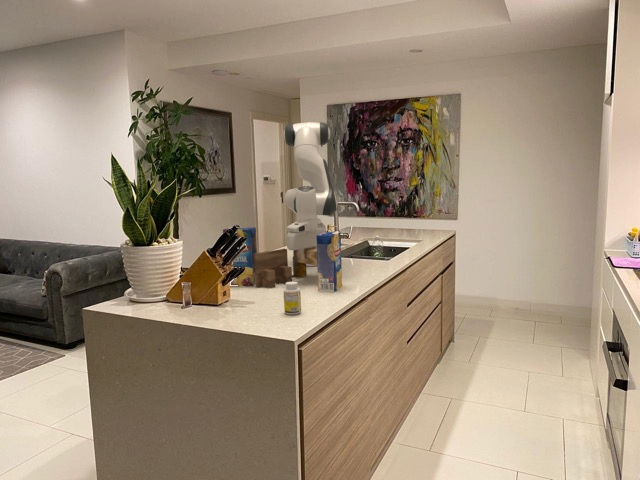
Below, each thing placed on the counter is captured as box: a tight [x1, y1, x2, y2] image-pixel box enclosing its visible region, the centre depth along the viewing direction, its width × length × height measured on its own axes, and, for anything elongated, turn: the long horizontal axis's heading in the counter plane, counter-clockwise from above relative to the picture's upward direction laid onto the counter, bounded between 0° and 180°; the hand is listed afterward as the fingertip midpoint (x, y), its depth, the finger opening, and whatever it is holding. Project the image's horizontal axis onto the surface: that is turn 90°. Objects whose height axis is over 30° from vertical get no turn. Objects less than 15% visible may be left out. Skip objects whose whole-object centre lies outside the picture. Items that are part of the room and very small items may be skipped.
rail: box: [292, 248, 318, 267], centre depth 208 cm, size 16×4×6 cm, turn 43°
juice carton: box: [222, 226, 258, 288], centre depth 208 cm, size 12×8×24 cm, turn 80°
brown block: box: [254, 248, 293, 289], centre depth 206 cm, size 7×16×14 cm, turn 133°
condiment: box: [292, 253, 310, 280], centre depth 222 cm, size 7×8×12 cm
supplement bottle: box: [283, 281, 302, 316], centre depth 163 cm, size 6×6×10 cm
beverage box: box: [316, 231, 343, 293], centre depth 196 cm, size 7×11×22 cm, turn 164°
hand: (308, 257), depth 209 cm, fingers closed on rail, 4 cm apart
